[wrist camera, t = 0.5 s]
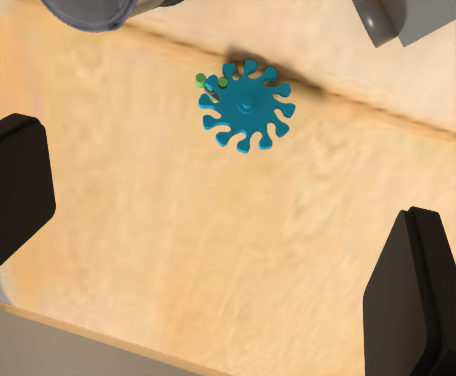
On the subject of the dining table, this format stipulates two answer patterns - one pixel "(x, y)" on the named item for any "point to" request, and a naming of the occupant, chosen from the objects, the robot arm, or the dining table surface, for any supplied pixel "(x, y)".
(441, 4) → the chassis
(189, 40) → the dining table surface
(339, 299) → the dining table surface
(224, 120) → the gear
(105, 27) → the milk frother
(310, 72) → the dining table surface
